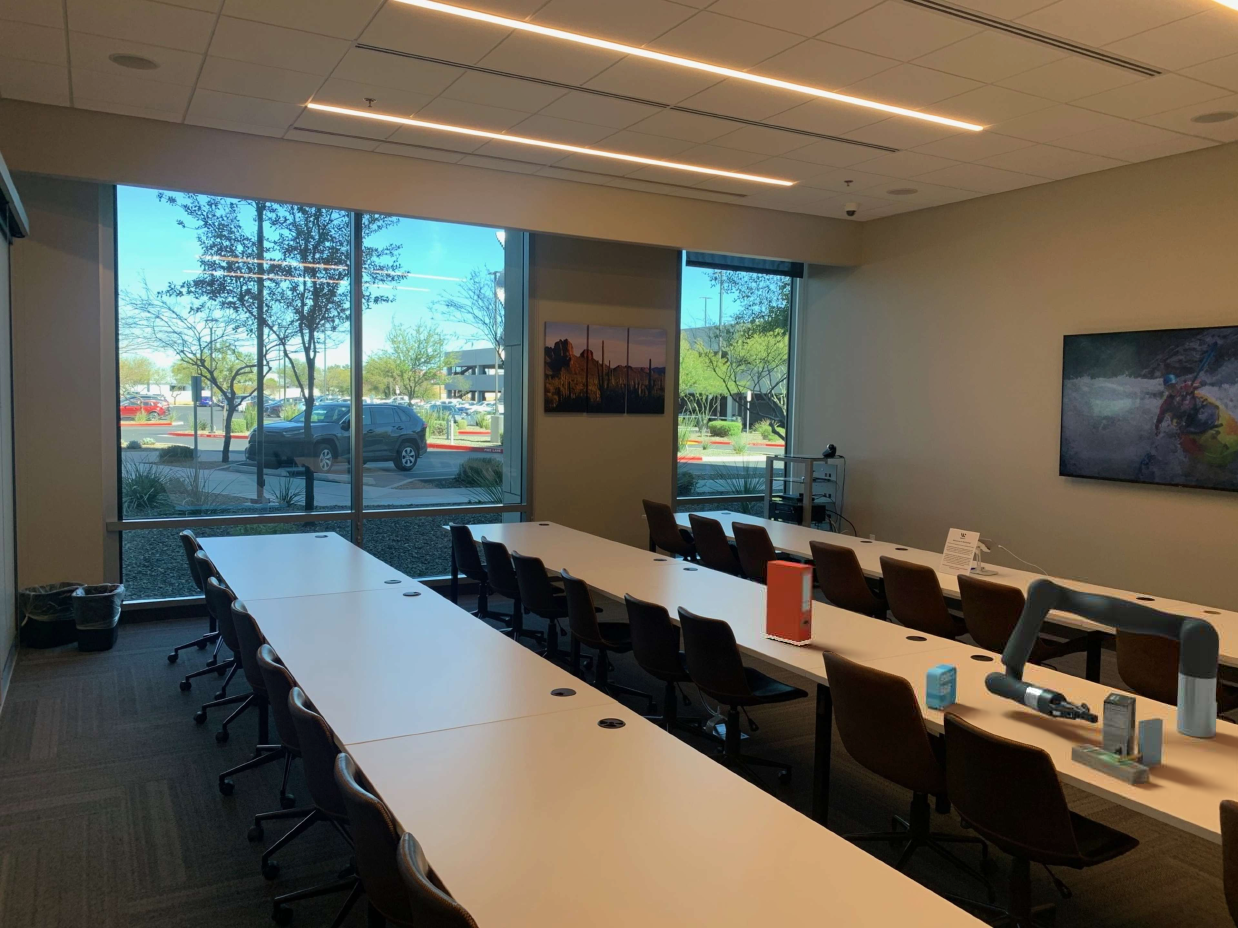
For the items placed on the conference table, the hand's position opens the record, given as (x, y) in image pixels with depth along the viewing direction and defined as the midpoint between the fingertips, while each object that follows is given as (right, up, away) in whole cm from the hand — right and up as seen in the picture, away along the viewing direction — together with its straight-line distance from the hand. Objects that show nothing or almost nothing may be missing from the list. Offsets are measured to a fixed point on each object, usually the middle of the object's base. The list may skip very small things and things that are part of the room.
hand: (1096, 719), depth 248 cm
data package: (-30, -6, +37) cm, 48 cm away
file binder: (-63, -2, +117) cm, 133 cm away
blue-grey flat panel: (+2, -8, -16) cm, 18 cm away
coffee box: (+3, -9, -6) cm, 11 cm away
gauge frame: (-5, -9, -15) cm, 18 cm away
